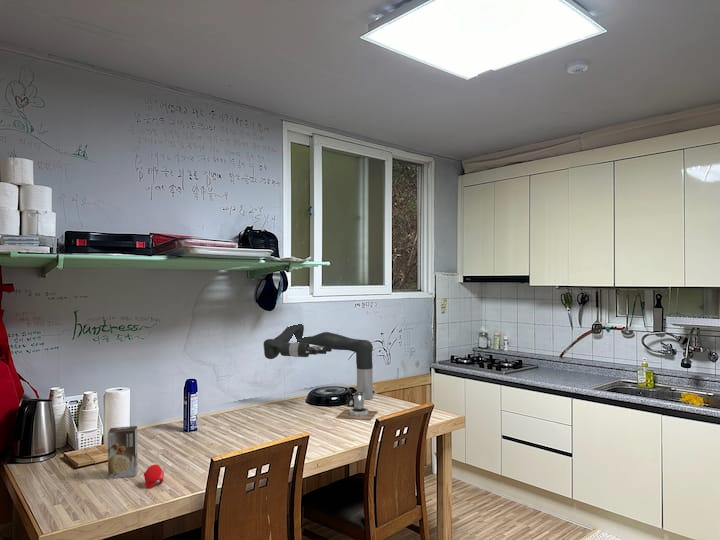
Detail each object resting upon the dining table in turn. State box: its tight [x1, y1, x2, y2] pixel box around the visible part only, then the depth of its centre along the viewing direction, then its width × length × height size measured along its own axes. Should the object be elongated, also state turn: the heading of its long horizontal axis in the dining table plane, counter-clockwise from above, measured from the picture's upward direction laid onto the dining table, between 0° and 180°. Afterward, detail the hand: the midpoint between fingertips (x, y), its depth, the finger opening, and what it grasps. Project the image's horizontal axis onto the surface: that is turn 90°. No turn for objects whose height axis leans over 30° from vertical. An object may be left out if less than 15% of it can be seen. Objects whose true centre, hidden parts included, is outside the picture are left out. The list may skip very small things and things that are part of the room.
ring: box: [349, 407, 370, 417], centre depth 253 cm, size 9×9×2 cm
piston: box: [353, 391, 365, 412], centre depth 253 cm, size 5×5×11 cm
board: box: [335, 409, 379, 422], centre depth 254 cm, size 18×18×1 cm
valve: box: [345, 393, 365, 408], centre depth 275 cm, size 7×7×12 cm
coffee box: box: [107, 425, 139, 479], centre depth 179 cm, size 9×6×16 cm
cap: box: [143, 464, 165, 490], centre depth 170 cm, size 8×6×6 cm
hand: (328, 350), depth 262 cm, fingers open, 8 cm apart
